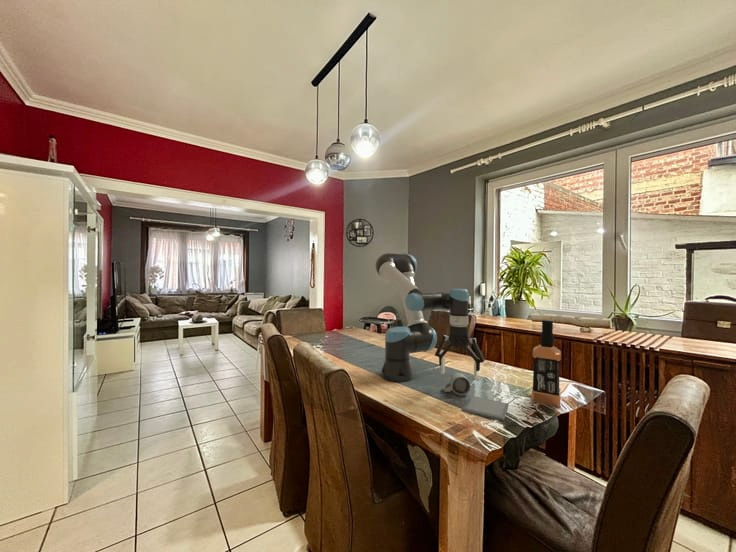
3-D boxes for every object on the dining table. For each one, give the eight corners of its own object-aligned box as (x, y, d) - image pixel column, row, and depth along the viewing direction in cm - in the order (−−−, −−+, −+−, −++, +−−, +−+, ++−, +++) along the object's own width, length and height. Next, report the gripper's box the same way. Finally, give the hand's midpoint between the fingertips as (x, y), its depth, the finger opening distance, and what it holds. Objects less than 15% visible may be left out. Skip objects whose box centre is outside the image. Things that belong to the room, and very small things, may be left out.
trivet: (462, 410, 111) (462, 408, 111) (470, 397, 123) (470, 395, 123) (503, 421, 104) (503, 418, 104) (508, 405, 116) (508, 403, 116)
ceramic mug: (466, 388, 133) (466, 370, 133) (470, 396, 125) (470, 377, 125) (441, 387, 134) (441, 370, 134) (444, 395, 126) (444, 376, 126)
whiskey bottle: (560, 407, 115) (562, 323, 114) (530, 401, 120) (532, 320, 119) (560, 398, 124) (562, 319, 123) (532, 392, 129) (534, 317, 128)
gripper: (427, 324, 132) (427, 373, 132) (488, 329, 119) (488, 383, 119) (433, 321, 138) (433, 368, 138) (492, 326, 125) (491, 378, 125)
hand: (458, 375), depth 128 cm, fingers open, 13 cm apart
